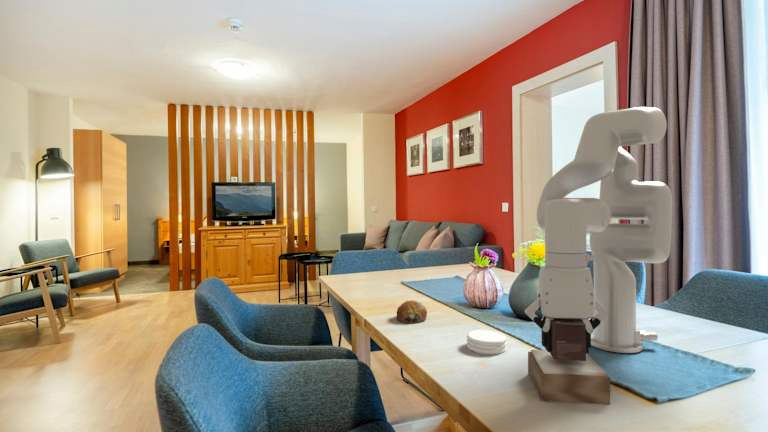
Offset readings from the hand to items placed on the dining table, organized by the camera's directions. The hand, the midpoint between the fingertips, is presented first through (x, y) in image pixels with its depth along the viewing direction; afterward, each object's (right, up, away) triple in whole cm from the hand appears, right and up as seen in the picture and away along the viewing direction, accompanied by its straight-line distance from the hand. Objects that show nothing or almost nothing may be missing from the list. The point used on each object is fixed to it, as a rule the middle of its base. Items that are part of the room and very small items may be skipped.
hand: (565, 349), depth 81 cm
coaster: (-10, -8, +24) cm, 27 cm away
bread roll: (-27, -7, +51) cm, 58 cm away
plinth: (0, -8, 0) cm, 8 cm away
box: (0, -1, 0) cm, 1 cm away
